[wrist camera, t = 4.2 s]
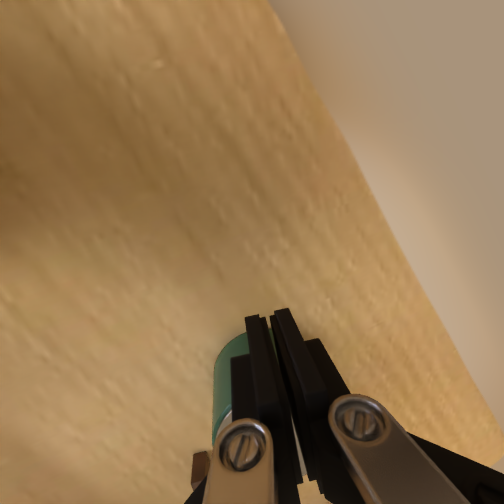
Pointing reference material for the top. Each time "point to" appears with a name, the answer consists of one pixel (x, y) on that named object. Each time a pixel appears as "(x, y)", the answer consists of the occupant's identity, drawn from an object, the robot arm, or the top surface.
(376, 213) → the top surface
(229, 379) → the tin can
